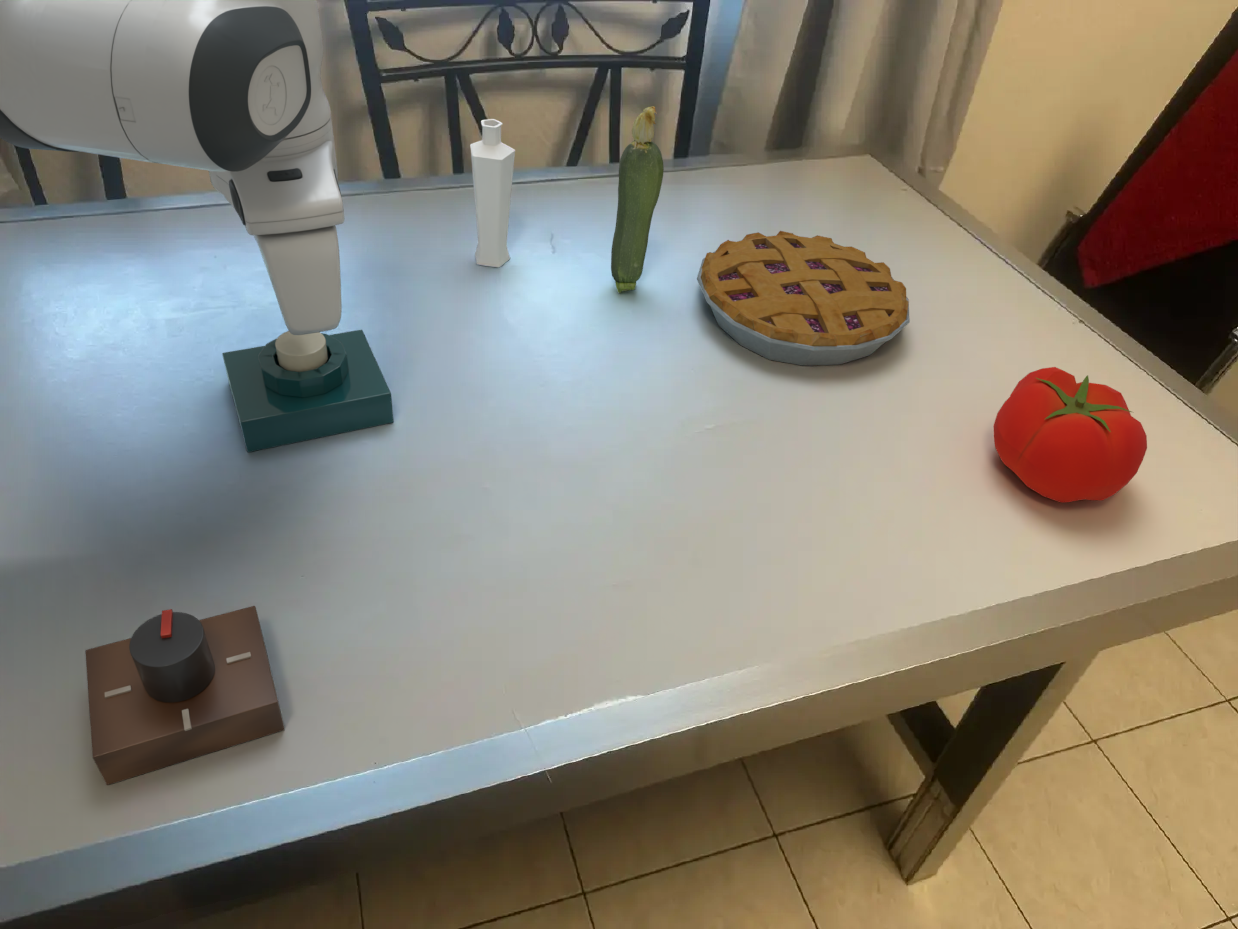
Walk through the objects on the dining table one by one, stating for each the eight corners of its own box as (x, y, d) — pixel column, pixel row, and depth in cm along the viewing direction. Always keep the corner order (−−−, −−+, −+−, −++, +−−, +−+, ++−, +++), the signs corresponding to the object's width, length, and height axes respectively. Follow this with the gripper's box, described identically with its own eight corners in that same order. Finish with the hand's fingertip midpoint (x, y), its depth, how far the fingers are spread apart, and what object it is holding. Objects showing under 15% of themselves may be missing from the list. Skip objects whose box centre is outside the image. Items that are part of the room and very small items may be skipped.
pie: (942, 359, 96) (958, 318, 93) (749, 390, 90) (758, 346, 86) (835, 253, 111) (845, 214, 108) (662, 273, 105) (668, 231, 101)
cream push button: (283, 376, 78) (279, 359, 77) (274, 349, 80) (270, 332, 79) (332, 367, 79) (330, 350, 78) (322, 341, 82) (320, 324, 81)
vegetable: (606, 277, 103) (622, 91, 90) (645, 278, 103) (667, 93, 90) (610, 299, 100) (628, 109, 86) (651, 300, 100) (675, 111, 87)
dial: (215, 695, 57) (202, 656, 54) (141, 709, 56) (125, 669, 53) (215, 642, 60) (203, 603, 57) (145, 654, 58) (130, 615, 56)
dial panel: (106, 787, 55) (91, 757, 53) (98, 677, 60) (84, 646, 58) (285, 731, 59) (277, 701, 57) (262, 632, 64) (254, 602, 62)
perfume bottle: (460, 256, 103) (457, 120, 94) (491, 244, 106) (491, 110, 96) (488, 273, 101) (488, 136, 91) (519, 261, 104) (522, 125, 94)
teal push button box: (247, 452, 77) (236, 404, 74) (228, 382, 84) (217, 334, 81) (393, 422, 82) (389, 375, 78) (365, 358, 88) (360, 312, 85)
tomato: (1152, 519, 81) (1201, 442, 75) (1018, 526, 79) (1058, 447, 73) (1076, 424, 90) (1115, 349, 85) (955, 428, 88) (986, 352, 82)
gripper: (205, 103, 74) (237, 262, 83) (248, 226, 60) (281, 399, 69) (289, 97, 76) (311, 252, 85) (349, 213, 63) (368, 382, 72)
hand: (298, 319), depth 77 cm, fingers closed
